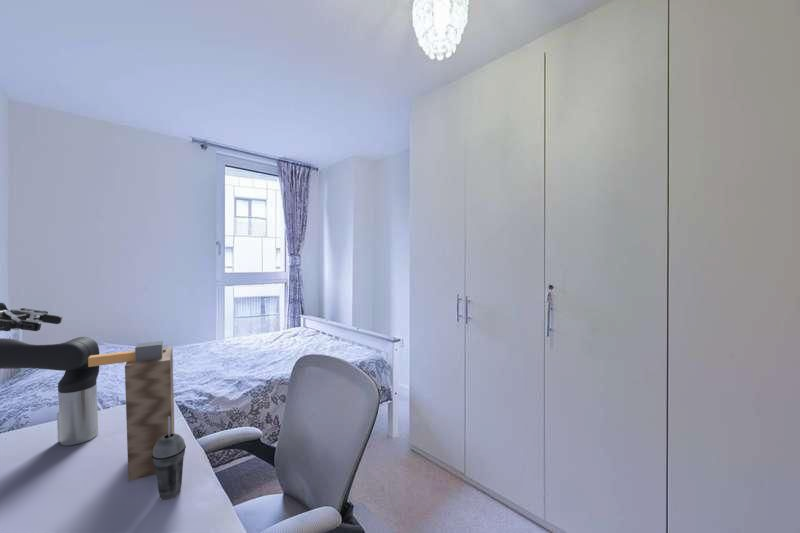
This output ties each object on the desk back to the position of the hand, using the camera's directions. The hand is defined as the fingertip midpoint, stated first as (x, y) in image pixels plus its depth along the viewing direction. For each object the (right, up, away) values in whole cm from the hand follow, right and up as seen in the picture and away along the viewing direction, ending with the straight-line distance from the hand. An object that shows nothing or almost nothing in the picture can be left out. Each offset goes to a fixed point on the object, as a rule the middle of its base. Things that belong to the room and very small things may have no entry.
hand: (50, 323), depth 93 cm
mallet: (+19, -11, +2) cm, 22 cm away
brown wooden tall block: (+22, -42, +9) cm, 48 cm away
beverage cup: (+36, -43, -5) cm, 57 cm away
